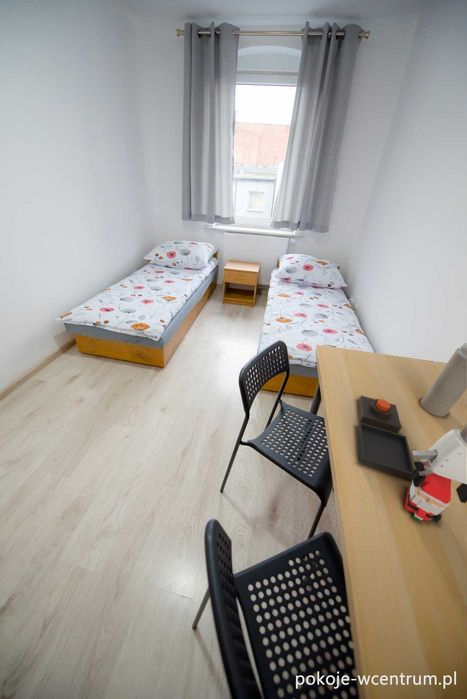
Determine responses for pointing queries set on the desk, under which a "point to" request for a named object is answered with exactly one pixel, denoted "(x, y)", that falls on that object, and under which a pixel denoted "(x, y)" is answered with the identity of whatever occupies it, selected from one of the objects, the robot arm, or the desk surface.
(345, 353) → the desk surface
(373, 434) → the tray
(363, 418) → the console
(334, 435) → the desk surface
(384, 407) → the button
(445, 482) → the figurine
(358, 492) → the desk surface
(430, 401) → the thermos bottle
